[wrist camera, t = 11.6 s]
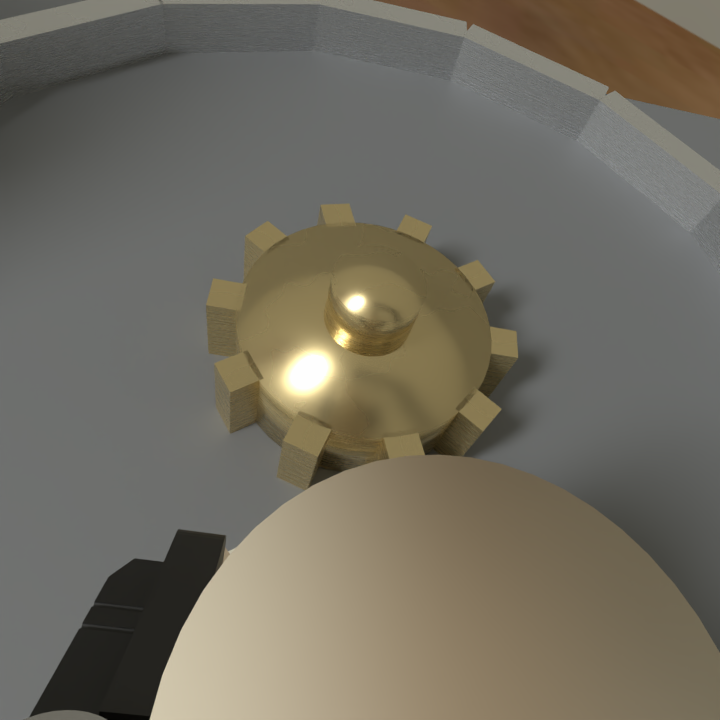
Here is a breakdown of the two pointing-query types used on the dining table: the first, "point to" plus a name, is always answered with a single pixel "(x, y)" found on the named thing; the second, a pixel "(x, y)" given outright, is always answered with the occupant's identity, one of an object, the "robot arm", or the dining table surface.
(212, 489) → the carrier plate
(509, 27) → the dining table surface
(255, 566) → the planet gear
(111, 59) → the ring gear
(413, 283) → the sun gear
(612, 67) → the dining table surface
